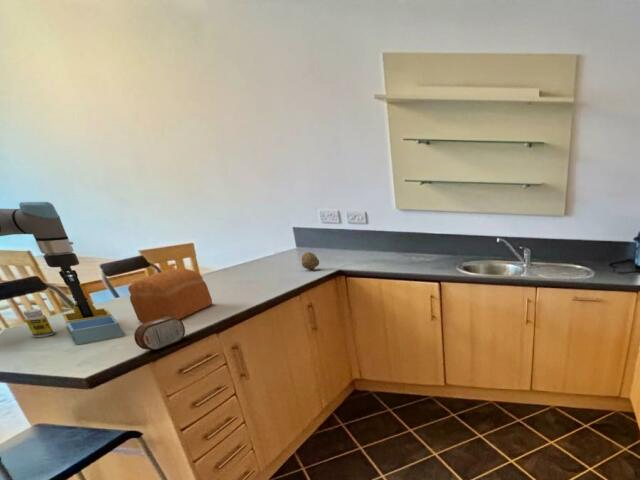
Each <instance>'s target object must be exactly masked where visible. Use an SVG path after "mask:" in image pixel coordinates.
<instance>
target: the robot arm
mask: <svg viewBox="0 0 640 480" xmlns="http://www.w3.org/2000/svg"><path fill="white" fill-rule="evenodd" d="M18 206H19V208H0V237H5V236H13V235H32V236H33V238H34V240H35V243H36V244H37V247H38V249H39V251H40V253H42V254H44V255H43V259H44V261H45V263H46V265H47V266H48V267H49V268H59V269H60V271H58V274H59V276H60V277H61V279H62V280H63V282H64V284H65V285H66V286H67V288H68V290H69V292H70V294H71V296H72V298H73V301H74V302H75V303H76V302H77V305H75V307H77V306H78V308H79V310H80V312H81V314H82V316H83V318H88V317H94V315H93V313H92V311H91V309H90V307H89V304H88V302H89V300H88V297H86V295H85V294H84V291H83V289H82V287H81V281H80V279H79V277H78V273H77V271H76V270H75V269H72V267H73V266H78V265H79V264H80V261H79V259H78V256H77V254H76V253H74V252H73V251H74V248H73V246H72V245H74V242H73V241H70V239H69V237H68V235H67V233H66V230H65V228H64V225H63V222H62V220H61V216H60V215H59V214H58V211H57V209H56V207H55V206H54V204H53V203H51V202H49V201H21V202H19V203H18ZM75 303H74V304H75Z"/></svg>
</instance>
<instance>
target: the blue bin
mask: <svg viewBox="0 0 640 480" xmlns="http://www.w3.org/2000/svg"><path fill="white" fill-rule="evenodd" d="M66 325H67V327H68V329H69V331H70V334H71V335H72V337H73V339H74V341H75V342H76V345H84V344H89V343H94V342H99V341H104V340H110V339H115V338H121V337H124V336H125V334H124V333H123V332H124V331H123V329H122V328H121V325H120V323H119V322H118V320H117V319H116V318H115V317H114V316H113V315H112V316H107V317H101V318H94V319H88V320H82V321H76V322H70V323H66Z"/></svg>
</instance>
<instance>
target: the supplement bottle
mask: <svg viewBox="0 0 640 480" xmlns="http://www.w3.org/2000/svg"><path fill="white" fill-rule="evenodd" d="M22 312H23V316H24V317H25V318H24V321H25V323H26V324H27V326H28V329H29V331H30V332H31V334H32V336H33V337H34V338H44V337H50V336H52V335H54V330H53V328H52V326H51V324H50V322H49V320H48V318H47V316H46V315H45V314H43V311H42V309H40V308H33V309H27V310H24V311H22Z"/></svg>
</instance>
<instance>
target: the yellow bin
mask: <svg viewBox="0 0 640 480" xmlns="http://www.w3.org/2000/svg"><path fill="white" fill-rule="evenodd" d="M96 310H97V316H95V317H88V318H82V319H79V318H78V317H77V316H76V314H75V313H74V312H69V313H68V312H67V313H63V314H61V315H62V317H63V319H64V321H65V323H66V324H67V323H70V322H76V321H82V320H88V319H94V318H101V317H107V316H113V315H112V314H111V312H110V311H109V310H108V309H107V308H106V307H102V308H96Z"/></svg>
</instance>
